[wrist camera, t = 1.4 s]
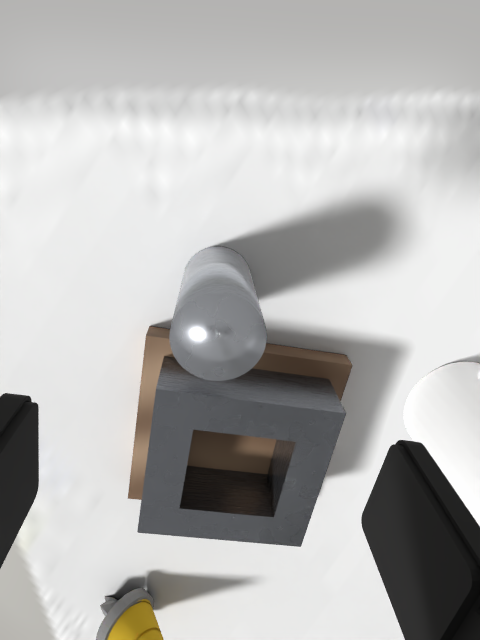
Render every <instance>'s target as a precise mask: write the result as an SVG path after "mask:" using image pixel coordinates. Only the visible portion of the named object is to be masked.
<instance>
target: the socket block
mask: <svg viewBox="0 0 480 640" xmlns="http://www.w3.org/2000/svg"><path fill="white" fill-rule="evenodd" d="M345 415H346V412H345V410H344V408H343V406H342V404H341V402H340V400H339V398H338V396H337V394H336V392H335V390H334V388H333V386H332V384H331V382H330V380H329V379H326V378H319V377H311V376H304V375H297V374H290V373H283V372H275V371H268V370H261V369H254V368H252V369H251V370H249V371H248V372H246V373H245V374H243V375H241V376H239V377H236V378H234V379H230V380H224V381H211V380H206V379H202V378H199V377H197V376H195V375H193V374H191V373H189V372H188V371H187V370H185V369H184V368H183V367H182V366H181V365H180V364H179V363H178V361H177V360H176V358H175V357H167V356H164V358H163V362H162V366H161V370H160V374H159V378H158V382H157V387H156V392H155V400H154V408H153V415H152V423H151V431H150V439H149V447H148V454H147V462H146V470H145V478H144V486H143V493H142V501H141V509H140V517H139V524H138V533H149V534H161V535H172V536H184V537H195V538H207V539H218V540H230V541H241V542H253V543H264V544H276V545H287V546H299V547H301V544H302V542H303V539H304V536H305V533H306V530H307V527H308V524H309V521H310V518H311V515H312V512H313V509H314V506H315V503H316V500H317V497H318V494H319V491H320V489H321V486H322V483H323V480H324V477H325V474H326V471H327V468H328V465H329V462H330V459H331V456H332V453H333V450H334V447H335V444H336V441H337V438H338V435H339V433H340V430H341V427H342V424H343V421H344V418H345ZM193 430H201V431H209V432H218V433H226V434H235V435H243V436H252V437H260V438H268V439H277V440H276V444H275V447H274V451H273V455H272V458H271V462H270V466H269V469H268V473H267V474H260V473H251V472H242V471H232V470H223V469H214V468H205V467H195V466H187V463H188V457H189V451H190V446H191V440H192V434H193Z"/></svg>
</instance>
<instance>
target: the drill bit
mask: <svg viewBox="0 0 480 640" xmlns="http://www.w3.org/2000/svg"><path fill="white" fill-rule="evenodd" d="M105 600H106V602H105V603H103V604H102V605H100V606H101V609H102V611H103V614H104V615H105V618H104V620H103V621H102V623H101V625H100V627H99V630H98V633H97V637H96V640H163V637H162V634H161V631H160V628H159V626H158V623H157V620H156V617H155V615H154V612H153V607H154V600H153V598H152V596H151V595H150V594H149V593H148V592H147V591H146V590H145V589H143V588H137V589H134V590H132V591H130V592H129V593H127V594H126V595H124V596H123V597H122V598H121V599H120V600H119V601H118V600H116V599H115V598H113V597H106V596H105Z"/></svg>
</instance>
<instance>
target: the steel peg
mask: <svg viewBox="0 0 480 640" xmlns="http://www.w3.org/2000/svg"><path fill="white" fill-rule="evenodd" d="M169 339H170V346H171V350H172V352H173V355H174V357H175V358H176V360H177V361H178V363H179V364H180V365H181V366H182V367H183V368H184V369H185V370H187V371H188V372H189V373H191V374H193V375H195V376H197V377H199V378H202V379H206V380H211V381H224V380H230V379H234V378H236V377H239V376H241V375H243V374H245V373H246V372H248V371H249V370H251V369H252V368H253V367H254V366H255V365H256V364H257V362H258V361H259V360H260V358H261V357H262V355H263V352H264V350H265V347H266V341H267V333H266V327H265V323H264V320H263V316H262V312H261V309H260V305H259V301H258V298H257V294H256V291H255V287H254V283H253V280H252V276H251V272H250V269H249V266H248V264H247V262H246V261H245V260H244V258H243V257H242V256H241V255H240V254H238V253H237V252H236V251H234V250H232V249H229V248H226V247H220V246H214V247H209V248H205V249H203V250H201V251H199V252H198V253H196V254H195V255H194V256H193V257H192V258H191V259H190V261H189V262H188V264H187V266H186V268H185V272H184V276H183V280H182V284H181V288H180V292H179V296H178V300H177V304H176V308H175V312H174V316H173V320H172V324H171V328H170V335H169Z"/></svg>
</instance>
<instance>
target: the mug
mask: <svg viewBox="0 0 480 640" xmlns="http://www.w3.org/2000/svg"><path fill="white" fill-rule="evenodd" d="M404 423H405V427H406V429H407V431H408V433H409V435H410V436H411V438H412V439H413V441H414V442H420V443H422V444H423V445H424V446H425V447H426V449H427V450H428V452H429V453H430V455H431V456H432V458H433V459H434V461H435V462H436V463H437V465H438V466H439V468H440V469H441V471H442V472H443V474H444V475H445V477H446V478H447V479H448V481H449V482H450V484H451V485H452V487H453V488H454V490H455V491H456V492H457V494H458V495H459V497H460V498H461V500H462V501H463V503H464V504H465V506H466V507H467V508H468V510H469V511H470V513H471V514H472V516H473V517H474V519H475V520H476V522H477V523H478V524H479V526H480V363H475V362H456V363H451V364H447V365H444V366H441V367H439V368H437V369H435V370H433V371H431V372H430V373H429V374H427V375H426V376H424V377H423V378H422V379H421V380H420V381H419V382H418V383H417V384H416V385H415V386H414V388H413V389H412V391H411V392H410V394H409V396H408V398H407V400H406V403H405V407H404Z"/></svg>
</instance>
